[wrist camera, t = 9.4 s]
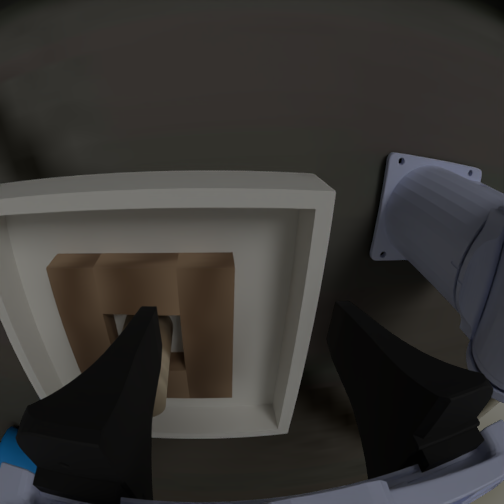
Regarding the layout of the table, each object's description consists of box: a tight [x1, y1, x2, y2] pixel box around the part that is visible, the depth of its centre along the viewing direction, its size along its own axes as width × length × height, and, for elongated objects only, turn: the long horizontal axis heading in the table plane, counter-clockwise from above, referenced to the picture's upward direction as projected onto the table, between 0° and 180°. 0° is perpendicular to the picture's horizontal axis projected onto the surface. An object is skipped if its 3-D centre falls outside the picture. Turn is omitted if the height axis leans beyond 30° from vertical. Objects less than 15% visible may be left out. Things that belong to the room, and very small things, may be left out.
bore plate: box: [46, 252, 235, 398], centre depth 22 cm, size 12×12×2 cm
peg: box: [122, 315, 173, 417], centre depth 19 cm, size 4×4×7 cm
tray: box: [0, 171, 336, 439], centre depth 22 cm, size 22×22×4 cm
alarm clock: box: [0, 427, 37, 474], centre depth 24 cm, size 13×6×15 cm, turn 148°
